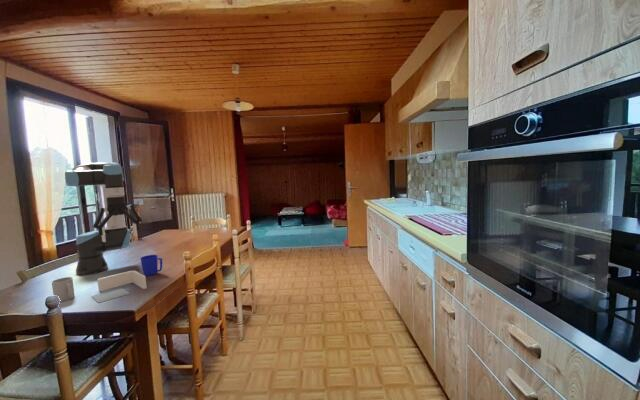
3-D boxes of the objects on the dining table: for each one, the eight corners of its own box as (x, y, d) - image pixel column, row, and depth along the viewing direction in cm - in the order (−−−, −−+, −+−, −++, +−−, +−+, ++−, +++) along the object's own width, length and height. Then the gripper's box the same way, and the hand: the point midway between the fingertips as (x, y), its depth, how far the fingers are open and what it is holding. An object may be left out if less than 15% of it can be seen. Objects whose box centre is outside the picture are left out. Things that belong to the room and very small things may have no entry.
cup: (69, 294, 141) (66, 276, 140) (81, 297, 137) (79, 278, 136) (50, 300, 134) (48, 281, 133) (63, 303, 130) (60, 284, 129)
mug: (157, 277, 160) (155, 259, 159) (138, 276, 162) (136, 258, 161) (168, 271, 168) (166, 254, 167) (150, 271, 170) (148, 254, 169)
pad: (91, 296, 137) (91, 295, 137) (121, 288, 146) (121, 287, 146) (98, 303, 129) (97, 302, 129) (129, 293, 138) (129, 293, 138)
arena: (98, 290, 143) (97, 278, 143) (135, 280, 155) (133, 269, 155) (108, 299, 132) (106, 286, 132) (146, 288, 144) (145, 276, 144)
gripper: (86, 199, 132) (91, 245, 134) (146, 194, 152) (150, 234, 154) (81, 198, 137) (87, 243, 139) (140, 194, 156) (144, 233, 158)
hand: (120, 238), depth 146 cm, fingers open, 13 cm apart
